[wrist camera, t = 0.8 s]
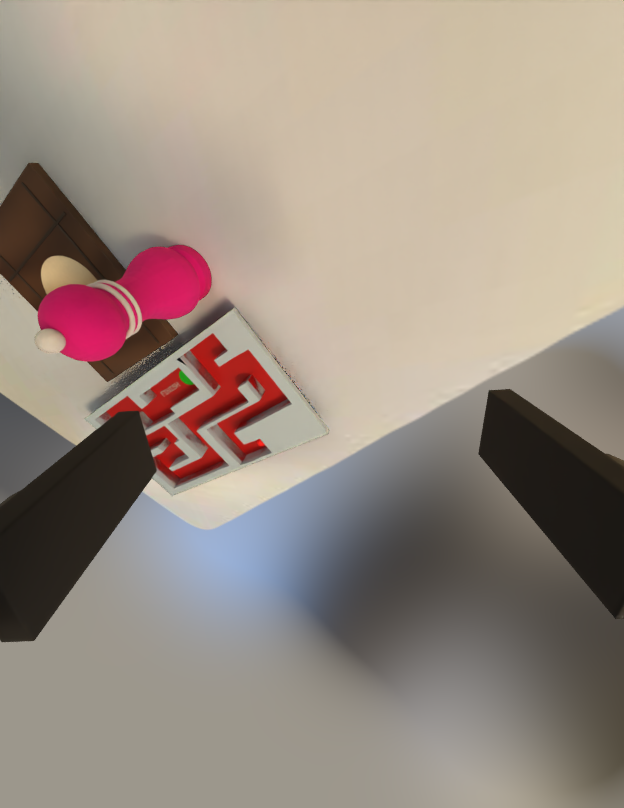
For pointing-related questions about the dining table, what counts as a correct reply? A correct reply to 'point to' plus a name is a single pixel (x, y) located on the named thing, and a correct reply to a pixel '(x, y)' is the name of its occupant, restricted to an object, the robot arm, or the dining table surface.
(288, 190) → the dining table surface
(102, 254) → the board
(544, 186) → the dining table surface
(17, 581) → the robot arm
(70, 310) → the pepper mill
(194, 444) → the maze game
